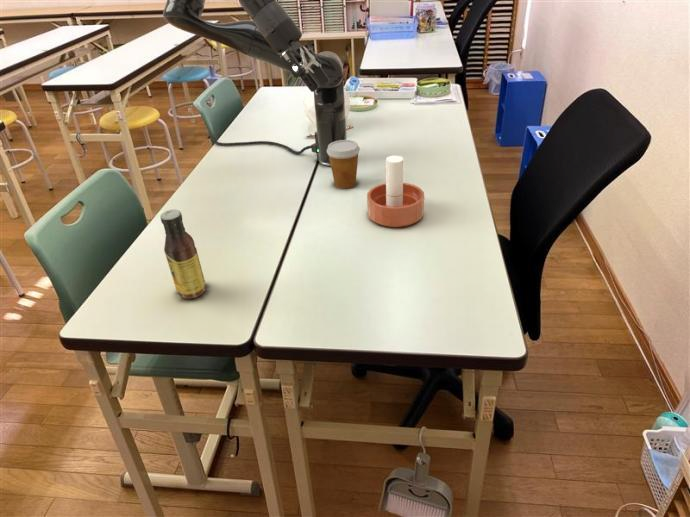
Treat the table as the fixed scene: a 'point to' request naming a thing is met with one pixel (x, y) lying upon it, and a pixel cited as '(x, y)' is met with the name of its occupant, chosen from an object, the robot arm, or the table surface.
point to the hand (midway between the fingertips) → (321, 86)
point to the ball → (310, 107)
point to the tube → (394, 181)
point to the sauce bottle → (182, 256)
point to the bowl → (395, 215)
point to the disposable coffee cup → (344, 162)
